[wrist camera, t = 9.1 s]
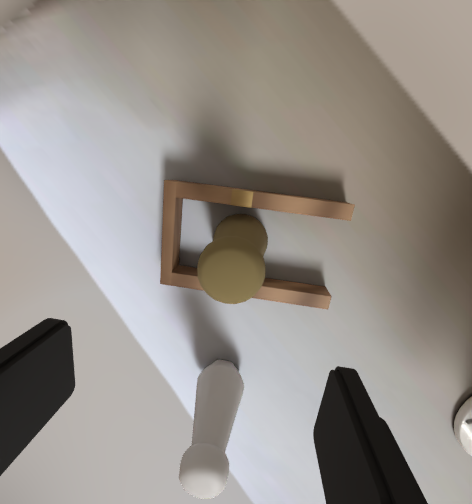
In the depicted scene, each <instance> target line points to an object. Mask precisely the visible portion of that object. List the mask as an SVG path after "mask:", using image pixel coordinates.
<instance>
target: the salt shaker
mask: <svg viewBox="0 0 472 504" xmlns="http://www.w3.org/2000/svg"><path fill="white" fill-rule="evenodd" d="M243 390H244V383H243V380H242V378H241V375H240V374H239V372H238V370H237V369H236V367H235V366H234V364H233V363H232V362H230V361H225V360H220V359H218V360H216V361H215V362H213V363H212V364H211V365H209V366H208V367H206V368H205V369H204V370H203V371H202V372H201V374H200V375H199V377H198V380H197V390H196V403H195V414H194V425H193V437H192V446H190V447H189V448H188V449H187V450H186V451H185V453H184V455H183V457H182V460H181V464H180V473H179V480H180V482H181V484H182V486H183V488H184V490H185V491H186V492H188V493H189V494H190V495H192V496H195V497H197V498H202V499H203V498H204V499H209V498H213V497H216V496H217V495H218V494H219V493H220V492H222V491H223V490H224V488H225V486H226V482H227V478H228V473H229V461H228V458H227V456H226V454H225V450H226V447H227V443H228V440H229V437H230V433H231V430H232V426H233V423H234V420H235V417H236V413H237V410H238V407H239V404H240V401H241V398H242V395H243Z"/></svg>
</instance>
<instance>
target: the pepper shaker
mask: <svg viewBox="0 0 472 504" xmlns="http://www.w3.org/2000/svg"><path fill="white" fill-rule="evenodd" d="M267 242H268V237H267V233H266V230H265V228H264V227H263V225H262V224H261V222H260V221H258V220H257V219H256V218H254V217H252V216H249V215H247V214H234V215H231V216H228V217H227V218H225V219H224V220H222V221H221V222H220V224H219V225H218V226H217V228H216V230H215V234H214V237H213V242H211V243H210V244H208V245H207V246H206V248H205V249H204V250H203V252H202V253H201V255H200V257H199V261H198V264H197V274H198V279H199V282H200V285H201V287H202V288H203V289H204V291H205V292H206V293H207V294H208V295H209V296H210V297H212V298H213V299H215V300H217V301H220V302H222V303H227V304H237V303H241V302H245V301H247V300H248V299H250V298H252V297H253V296H254V295H255V294H256V293H257V292H258V291H259V289H260V288H261V287H262V284H263V281H264V279H265V268H266V267H265V262H264V259H263V255H264V253H265V251H266V248H267Z"/></svg>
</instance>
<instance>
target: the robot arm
mask: <svg viewBox="0 0 472 504" xmlns="http://www.w3.org/2000/svg"><path fill="white" fill-rule="evenodd" d="M74 388H75V376H74V362H73V349H72V335H71V327H70V326H68V323H67V322H66V321H64V320H58V319H53V318H47V319H46V320H43V321H42V322H40V323H39V324H37V325H36V326H34V327H33V328H31V329H30V330H28V331H27V332H25V333H23V334H22V335H21V336H19V337H17V338H16V339H14V340H13V341H11V342H10V343H8V344H7V345H5V346H4V347H2V348H1V349H0V476H1V474H2V473H3V472H4V471H5V470H6V469H7V468H8V466H9V465H10V464H11V463H12V462H13V461H14V460H15V458H16V457H17V456H18V455H19V454H20V453H21V452H22V451H23V449H24V448H25V447H26V446H27V445H28V444H29V443H30V441H31V440H32V439H33V438H34V437H35V436H36V435H37V433H38V432H39V431H40V430H41V429H42V428H43V427H44V426H45V424H46V423H47V422H48V421H49V420H50V419H51V418H52V416H53V415H54V414H55V413H56V412H57V411H58V409H59V408H60V407H61V406H62V405H63V404H64V403H65V402H66V400H67V399H68V398H69V397H70V396H71V394H72V393H73V391H74ZM454 432H455V436H456V438H457V440H458V442H459V443H460V445H461V446H462V447H463V448H464V450H465V451H466V452H467V453H468V454H469V455H470V456H471V457H472V396H471V397H470V398H469V399H468V400H467V401H466V402H465V403H464V404H463V405H462V406H461V407H460V409H459V411H458V413H457V415H456V418H455V421H454ZM314 444H315V449H316V454H317V459H318V464H319V469H320V474H321V479H322V484H323V489H324V494H325V499H326V504H428V503H427V501H426V499H425V497H424V495H423V493H422V491H421V489H420V487H419V485H418V484H417V482H416V480H415V478H414V476H413V474H412V472H411V470H410V468H409V466H408V464H407V462H406V460H405V458H404V456H403V454H402V452H401V450H400V448H399V446H398V444H397V442H396V440H395V438H394V436H393V435H392V433H391V431H390V429H389V427H388V425H387V423H386V422H385V420H383V419H382V418H380V417H379V415H378V413H377V411H376V409H375V407H374V405H373V403H372V401H371V399H370V397H369V395H368V393H367V391H366V389H365V387H364V385H363V383H362V381H361V379H360V377H359V375H358V373H357V371H356V370H355V369H351V368H345V367H339V366H338V367H336V369H335V370H331V371H330V373H329V376H328V380H327V383H326V387H325V391H324V394H323V398H322V401H321V405H320V408H319V412H318V416H317V419H316V423H315V426H314Z"/></svg>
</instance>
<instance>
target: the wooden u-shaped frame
mask: <svg viewBox="0 0 472 504" xmlns="http://www.w3.org/2000/svg"><path fill="white" fill-rule="evenodd" d="M183 198H184V199H192V200H199V201H207V202H214V203H222V204H229V205H234V206H241V207H249V208H251V207H252V208H259V209H267V210H274V211H282V212H289V213H297V214H304V215H312V216H319V217H327V218H334V219H342V220H349V221H351V218H352V214H353V210H354V206H355V205H354V204H350V203H347V202H340V201H332V200H325V199H317V198H309V197H301V196H294V195H286V194H278V193H271V192H263V191H255V190H248V189H240V188H232V187H224V186H217V185H209V184H201V183H194V182H186V181H178V180H164V200H163V227H162V253H161V280H160V284H165V285H171V286H178V287H184V288H191V289H197V290H204V289H203V288H202V287H201V285H200V282H199V279H198V274H197V268H195V267H189V266H182V265H179V254H180V237H181V220H182V203H183ZM252 298H257V299H263V300H270V301H276V302H283V303H289V304H296V305H302V306H309V307H316V308H322V309H328V308H329V304H330V300H331V295H330V293H329V292H328V290H327V288H326V287H324V286H317V285H310V284H304V283H297V282H290V281H283V280H276V279H270V278H265V279H264V281H263V284H262V287H261V288H260V289H259V291H258V292H257V293H256V294H255V295H254V296H253V297H252Z"/></svg>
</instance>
